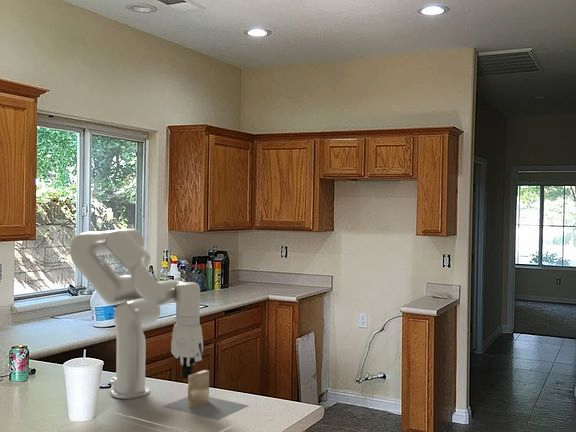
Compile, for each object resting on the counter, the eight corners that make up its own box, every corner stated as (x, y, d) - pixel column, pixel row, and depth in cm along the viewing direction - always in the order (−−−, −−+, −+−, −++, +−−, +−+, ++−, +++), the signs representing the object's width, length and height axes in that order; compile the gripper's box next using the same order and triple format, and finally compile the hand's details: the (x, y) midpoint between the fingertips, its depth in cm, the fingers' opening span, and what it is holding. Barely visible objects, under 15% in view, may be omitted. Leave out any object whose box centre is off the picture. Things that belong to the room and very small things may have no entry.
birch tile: (187, 406, 198) (187, 375, 198) (203, 400, 205) (203, 369, 205) (192, 408, 197) (193, 376, 197) (208, 401, 204) (209, 370, 204)
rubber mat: (162, 407, 199) (162, 406, 198) (195, 394, 212) (195, 393, 212) (217, 421, 187) (217, 419, 187) (248, 406, 201) (248, 405, 201)
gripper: (162, 320, 204) (162, 376, 204) (198, 324, 196) (198, 383, 196) (178, 316, 210) (177, 371, 211) (213, 321, 203) (213, 378, 203)
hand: (187, 377), depth 204 cm, fingers closed
